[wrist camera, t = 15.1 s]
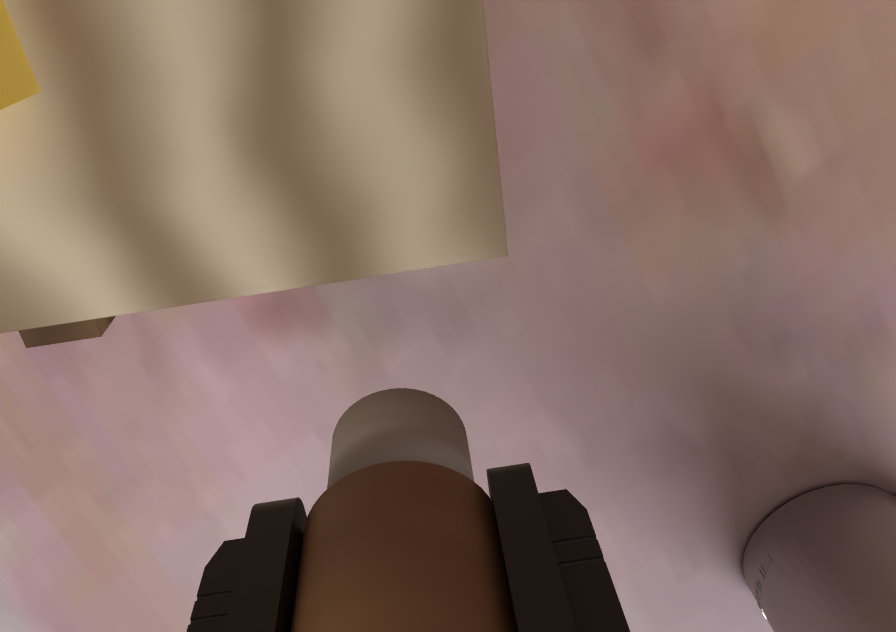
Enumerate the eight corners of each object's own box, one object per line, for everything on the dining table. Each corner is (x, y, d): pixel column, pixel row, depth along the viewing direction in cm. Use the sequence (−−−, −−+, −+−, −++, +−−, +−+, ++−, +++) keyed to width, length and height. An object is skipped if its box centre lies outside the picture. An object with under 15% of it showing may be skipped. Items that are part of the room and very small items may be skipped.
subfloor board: (441, -343, 22) (446, -365, 20) (503, 256, 31) (509, 274, 29) (-431, -219, 22) (-496, -231, 20) (-110, 350, 31) (-137, 372, 29)
